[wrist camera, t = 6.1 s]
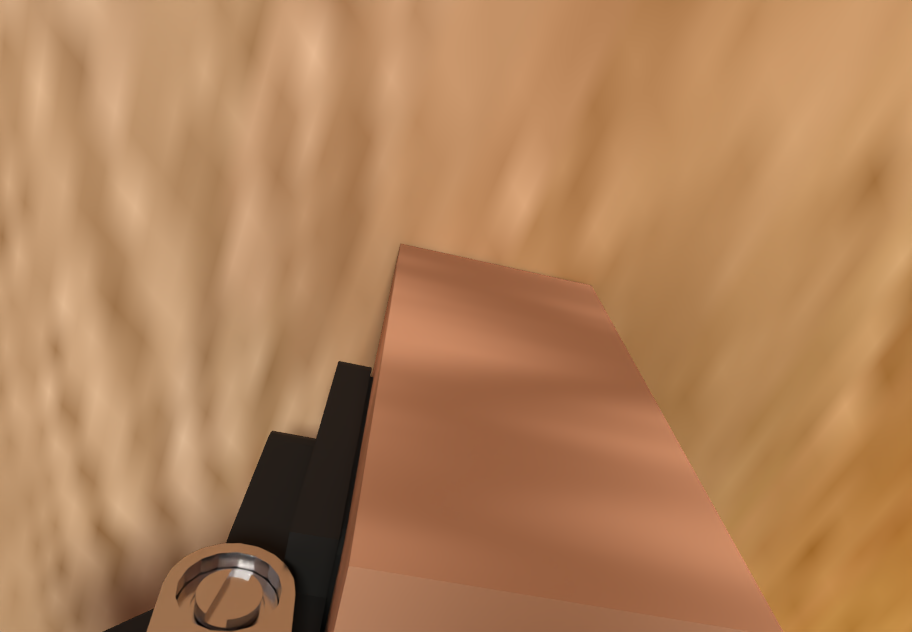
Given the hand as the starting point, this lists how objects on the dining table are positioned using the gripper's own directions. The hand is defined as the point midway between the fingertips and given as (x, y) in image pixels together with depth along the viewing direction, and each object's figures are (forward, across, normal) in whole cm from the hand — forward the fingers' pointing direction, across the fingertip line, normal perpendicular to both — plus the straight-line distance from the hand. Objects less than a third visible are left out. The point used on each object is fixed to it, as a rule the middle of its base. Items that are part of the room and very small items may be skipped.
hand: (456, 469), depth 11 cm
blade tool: (+1, 0, +6) cm, 6 cm away
